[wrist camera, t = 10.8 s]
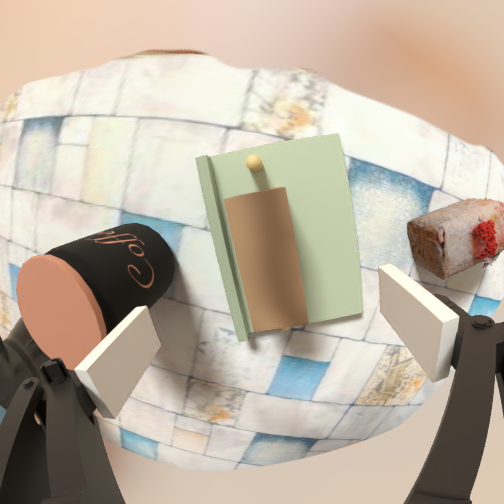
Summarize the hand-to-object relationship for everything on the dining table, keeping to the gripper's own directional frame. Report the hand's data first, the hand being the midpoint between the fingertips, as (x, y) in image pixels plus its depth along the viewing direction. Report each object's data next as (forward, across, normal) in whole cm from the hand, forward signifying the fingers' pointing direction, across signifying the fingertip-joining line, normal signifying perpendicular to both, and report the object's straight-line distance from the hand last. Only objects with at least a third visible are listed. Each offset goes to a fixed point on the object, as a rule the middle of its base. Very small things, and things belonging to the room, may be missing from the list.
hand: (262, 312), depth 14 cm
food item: (+19, +25, -3) cm, 32 cm away
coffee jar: (+20, -17, 0) cm, 26 cm away
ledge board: (+19, +2, 0) cm, 19 cm away
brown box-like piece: (+18, 0, 0) cm, 18 cm away
